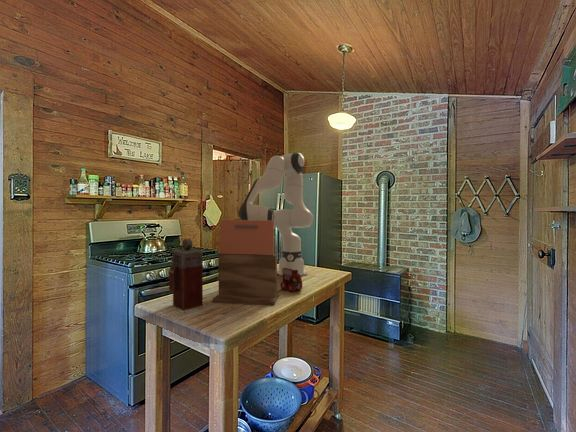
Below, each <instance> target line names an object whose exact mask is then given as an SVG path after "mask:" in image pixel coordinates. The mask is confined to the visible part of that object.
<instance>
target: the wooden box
mask: <svg viewBox="0 0 576 432" xmlns="http://www.w3.org/2000/svg"><path fill="white" fill-rule="evenodd" d="M217 259H218V294H216V295H215V296H214V297H213V298H212V303H217V304H218V303H220V304H221V303H222V304H223V303H224V304H238V305H239V304H240V305H262V306H275V304H276V302H277V300H278V299H279V297H280V292H279V291H278V274H277V271H278V253H274V255H257V254H222V253H221V252H220V253H218V257H217Z"/></svg>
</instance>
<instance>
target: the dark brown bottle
mask: <svg viewBox="0 0 576 432" xmlns="http://www.w3.org/2000/svg"><path fill="white" fill-rule="evenodd" d="M192 241H193V240H192V239H191V238H184V239H183V241H182V249H181V248H179V249H174V250H172V264H170V268H169V271H168V289H169V290H170V291H171V292H172V301H173V302H172V305H174V306H173V307H175V306H177V307H178V309H179V308H180V310H181V309H182V310H181V311H186V309H187V310H190V308H191V309H194V308H198V307H202V306H203V302H204V301H203V299H204V298H203V297H204V296H203V294H204V293H203V288H204V287H203V286H204V285H203V251H202V250H201V249H197V248H194V247H193V242H192ZM177 307H176V308H177Z"/></svg>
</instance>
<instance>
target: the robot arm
mask: <svg viewBox="0 0 576 432" xmlns="http://www.w3.org/2000/svg"><path fill="white" fill-rule="evenodd" d="M305 165H306V160H305V157H304V155H303V154H302V153H300V152H293V153H286V154H283V155H281V156H280V155H273V156H272V157H271V158H269V160H268V162H267V163H266V167H265V170H264V172H263V174H262V175H261V176H260V177H259V178H256V180H255V181H254V182H253V184H252V186H251V188H250V189H249V191H248V193H247V195H246V197H245V198H244V200H243V202H242V203H241V205H240V206H239V209H238V212H237V215H238V217H239V220H267V221H274V228H276V229H277V230H278V232H279V234H280V237H281V242H282V244H281V245H282V246H281V247H282V249H281V250H282V251H281V258H280V259H279V260H278V262H279V263H278V269H277V275H280V276H281V277H283V273H282V269H283V268H288V269H293V270H298V274H300V276H307V275H308V272H307V269H306V268H305V261H304V259H303V258H302V255H303V252H302V249H301V247H302V239H301V237H300V236H299V235H298V234H297V233H294V232H293V230H292V229H295V228H296V229H304V228H310V227H312V224H313V223H314V215H313V213H312V212H311V211H310V210H309V209H308V208H307V207H306V205H305V203H304V198H303V197H304V196H303V195H304V194H303V193H304V189H303V188H304V177H303V173H302V172H303V171H304V169H305ZM285 175H286V178H285ZM284 178H285V182H284V183H285V184H284V192H283V193H284V195H283V198H284V201H285V202H286V203H287V204H289V205H291V206H292V208H291V209H289V208H288V209H287V208H285V209H284V208H283V209H276V210H273V209H272V208H271V207H269V206H264V205H257V204H254V203H255V201H256V199H257V196H258V195H259V194H260V193H261V192H265V191H272V190H275V189H277V188H279V187H280V186H281V185H282V183H283V181H284Z"/></svg>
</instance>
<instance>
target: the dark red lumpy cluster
mask: <svg viewBox="0 0 576 432" xmlns="http://www.w3.org/2000/svg"><path fill="white" fill-rule="evenodd" d="M282 273H283V276H282V281H281V282H280V285H279V286H280V289H281V290H282V291H285V290H288V292H290V293H294V292H295V291H296V290H297V291H301V290H302V289H303V279H302V277H301V276H300V274H298V270H293V269H288V268H283V269H282Z"/></svg>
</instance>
